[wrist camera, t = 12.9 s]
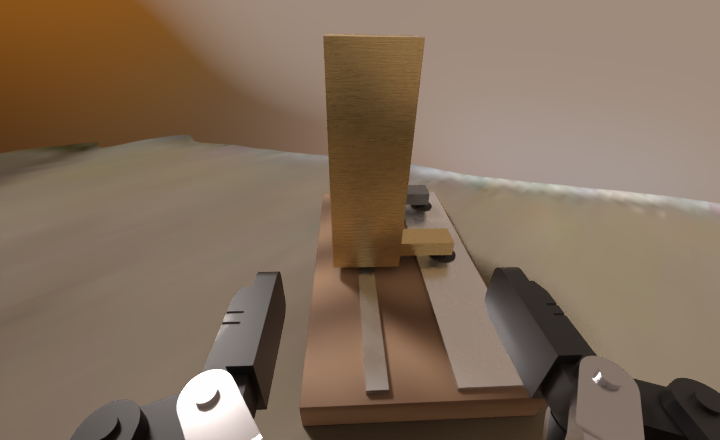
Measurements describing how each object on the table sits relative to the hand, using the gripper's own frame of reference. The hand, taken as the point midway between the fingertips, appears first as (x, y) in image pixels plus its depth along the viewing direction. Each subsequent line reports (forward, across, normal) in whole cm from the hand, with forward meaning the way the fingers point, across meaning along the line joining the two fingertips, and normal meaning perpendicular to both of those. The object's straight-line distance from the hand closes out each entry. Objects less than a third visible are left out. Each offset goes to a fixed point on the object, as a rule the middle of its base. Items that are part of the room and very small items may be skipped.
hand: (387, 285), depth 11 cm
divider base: (+11, -3, +10) cm, 15 cm away
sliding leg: (+11, -2, +7) cm, 14 cm away
